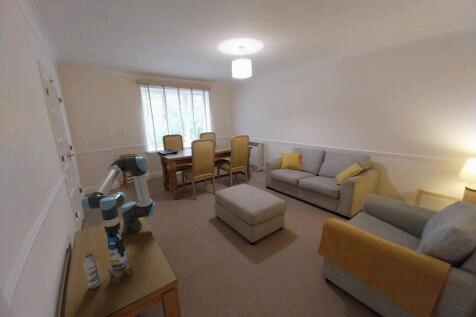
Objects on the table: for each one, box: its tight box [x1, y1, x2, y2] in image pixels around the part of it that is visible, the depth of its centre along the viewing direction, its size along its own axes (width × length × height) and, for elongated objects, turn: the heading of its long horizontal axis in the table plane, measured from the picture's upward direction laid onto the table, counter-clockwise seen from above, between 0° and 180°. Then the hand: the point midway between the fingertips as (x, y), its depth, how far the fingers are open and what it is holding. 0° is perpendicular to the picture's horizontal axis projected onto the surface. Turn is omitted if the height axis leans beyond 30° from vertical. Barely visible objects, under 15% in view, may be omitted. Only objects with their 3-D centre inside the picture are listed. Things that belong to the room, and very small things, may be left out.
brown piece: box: [106, 259, 134, 286], centre depth 118 cm, size 10×10×7 cm
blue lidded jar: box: [106, 231, 128, 269], centre depth 115 cm, size 8×8×20 cm
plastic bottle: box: [83, 253, 103, 290], centre depth 111 cm, size 6×7×20 cm
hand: (118, 258), depth 116 cm, fingers closed on blue lidded jar, 8 cm apart
